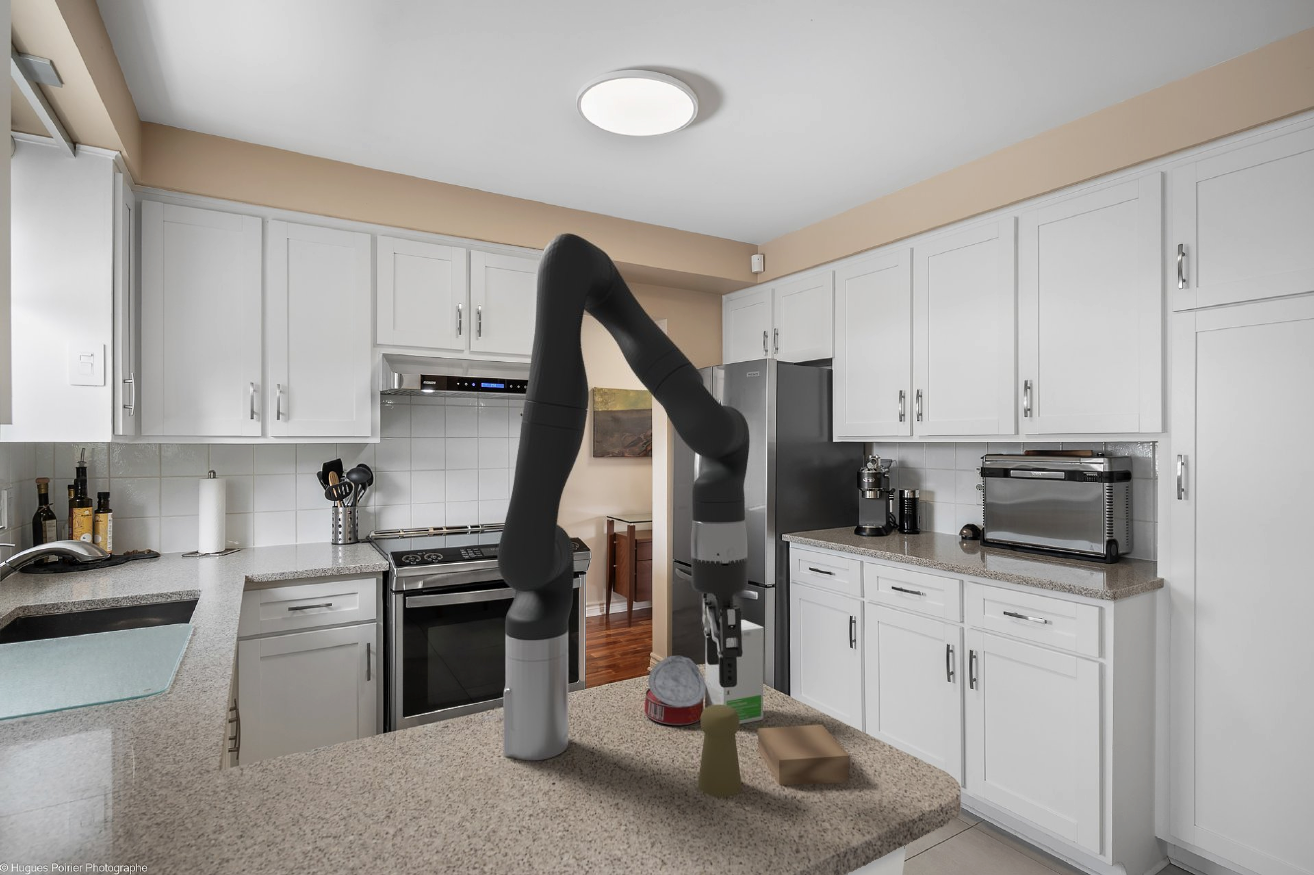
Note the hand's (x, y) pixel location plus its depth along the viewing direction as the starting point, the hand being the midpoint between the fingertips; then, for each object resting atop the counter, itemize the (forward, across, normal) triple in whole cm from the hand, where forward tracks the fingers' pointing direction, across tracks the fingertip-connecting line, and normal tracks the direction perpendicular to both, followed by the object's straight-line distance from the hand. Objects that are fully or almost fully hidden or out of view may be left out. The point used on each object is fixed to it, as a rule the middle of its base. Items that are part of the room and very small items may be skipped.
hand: (721, 674), depth 89 cm
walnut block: (+16, -5, +13) cm, 21 cm away
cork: (+16, 0, 0) cm, 16 cm away
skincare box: (+16, -23, +7) cm, 29 cm away
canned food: (+16, -25, -6) cm, 30 cm away
